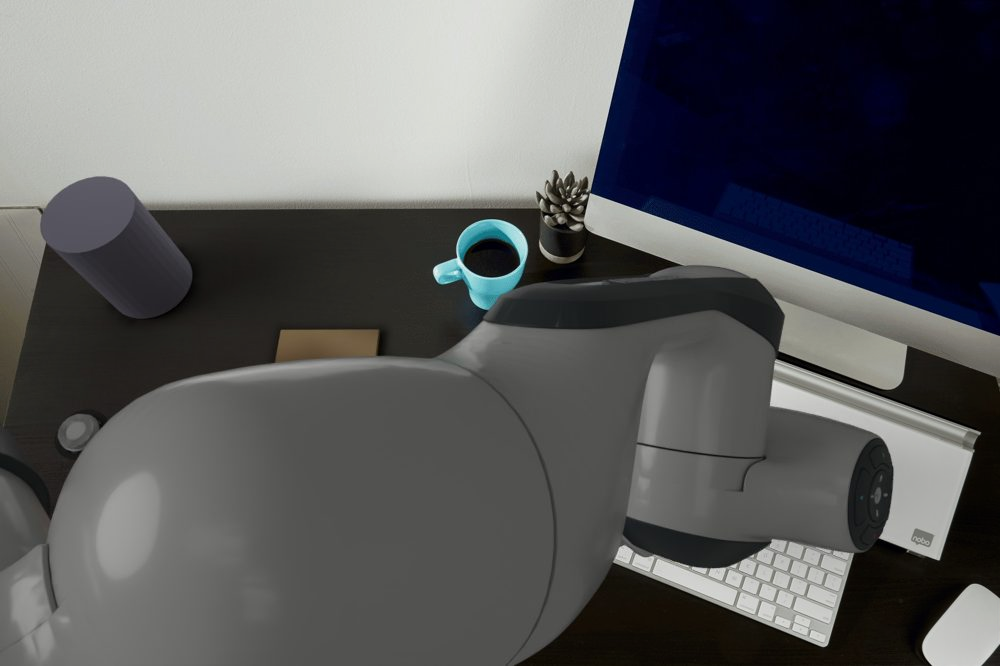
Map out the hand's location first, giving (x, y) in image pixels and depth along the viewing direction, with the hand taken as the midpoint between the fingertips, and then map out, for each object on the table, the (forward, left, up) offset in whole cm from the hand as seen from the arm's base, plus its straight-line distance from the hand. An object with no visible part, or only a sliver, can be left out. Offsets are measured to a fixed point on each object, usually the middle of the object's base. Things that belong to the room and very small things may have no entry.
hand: (578, 423), depth 69 cm
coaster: (+10, +29, -11) cm, 32 cm away
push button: (0, +51, -11) cm, 52 cm away
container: (+23, +53, -11) cm, 59 cm away
